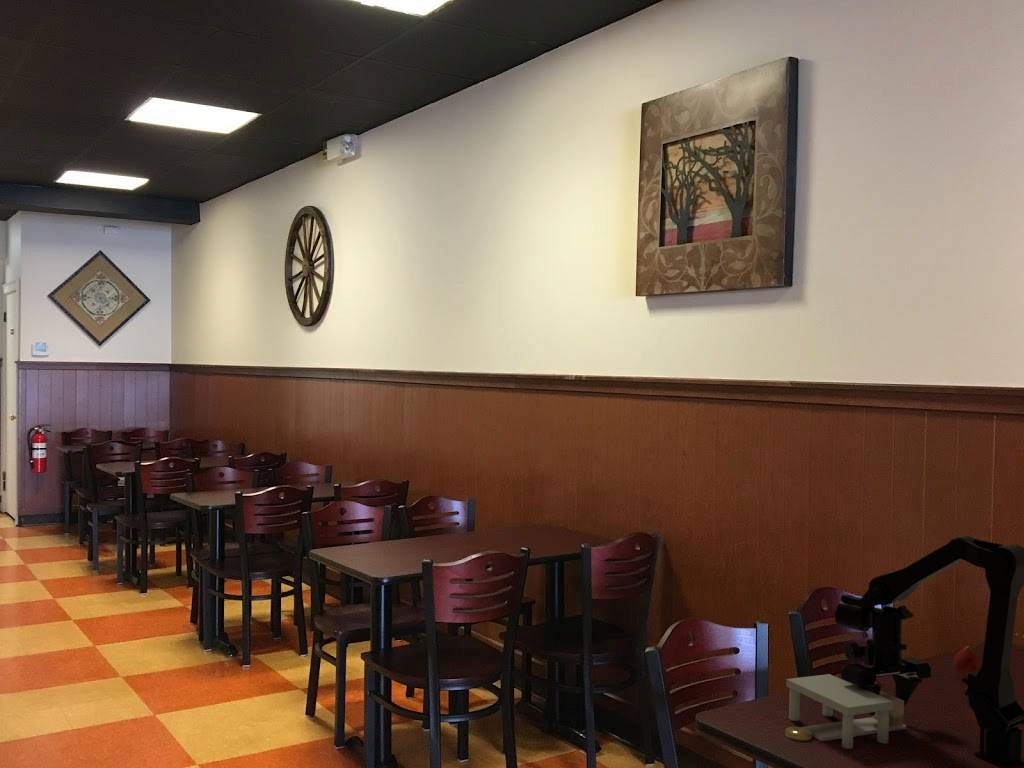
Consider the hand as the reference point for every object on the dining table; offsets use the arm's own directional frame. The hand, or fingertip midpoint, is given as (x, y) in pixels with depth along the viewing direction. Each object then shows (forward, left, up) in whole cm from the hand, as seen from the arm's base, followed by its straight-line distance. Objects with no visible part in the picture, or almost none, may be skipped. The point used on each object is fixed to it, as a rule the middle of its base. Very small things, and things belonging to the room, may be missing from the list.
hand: (885, 713), depth 198 cm
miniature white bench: (0, +12, -2) cm, 12 cm away
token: (0, +22, -2) cm, 22 cm away
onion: (+17, -41, -2) cm, 44 cm away
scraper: (-1, +9, -2) cm, 9 cm away
